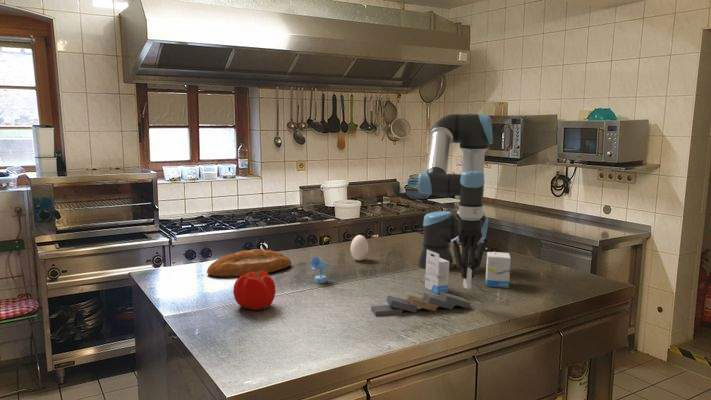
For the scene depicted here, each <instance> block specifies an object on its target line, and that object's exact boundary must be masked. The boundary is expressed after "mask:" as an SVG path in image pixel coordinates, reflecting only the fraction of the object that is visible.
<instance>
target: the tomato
mask: <svg viewBox="0 0 711 400" xmlns="http://www.w3.org/2000/svg"><path fill="white" fill-rule="evenodd" d="M232 289H233V290H232V292H233V297H234V300H235V301H236V303H237V305H239V306H240V307H242V308H243V309H246V310H249V309H250V310H252V311H258V310H264V309H266V308H267V307H270V306H271V305H272V303H273V302H274V299H275V297H276V284H275V281H274V279H273V278H272V277H271V275H270V274H269V273H267V272H266V271H259V272H257V273H255V272H250V273H247V274H246V275H243V276H238V278H237V279H236V280H235V282H234V284H233V288H232Z"/></svg>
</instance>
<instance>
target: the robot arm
mask: <svg viewBox="0 0 711 400" xmlns="http://www.w3.org/2000/svg"><path fill="white" fill-rule="evenodd" d="M428 141H429V147H428V148H429V149H428V153H427V155H428V156H427V162H426V168H425V172H420V173H419V174H418V178H417V179H418V180H417V190H418V193H419V194H421V195H427V196H428V195H429V196H451V197H452V196H453V197H455V196H456V197H459V204H458V205H459V209H458V210H457V211H456V215H453V214H452V212H451V211H445V210H444V211H443V210H442V211H432V212H428V213H426V214H425V215H424V217H423V224H422V226H423V231H422V249H421V251H420V254H419V255H418V256H419V257H418V259H417V265H418V266H419V267H420V268H423V269H425V270H426V255H427V249H428V250H430V251H433V252H435V253H438V254H439V257H440V258H442V259H444V260H447V261H449V270H451V269H453V268H454V259H453V256H452V252H451V245H452V248H453V253H454V258H455V265H456V267H458V268H459V269H461V279H463V284H462V288H465V289H466V290H472V279H474V278H475V277H474V276H475V271H476V270H477V268H480V266H481V263H482V260H483V259H482V258H483V256H484V252H485V249H486V245H487V244H488V242H489V239H488V238H486V237H487V232H488V225H489V217H488V216H486V212H485V211H484V210H483V209H484V208H483V207H484V203H483V202H484V191H485V189H484V188H485V173H484V172H485V171H484V170H485V157H486V156H485V155H486V152H487V151H488V150H489V149H490V145H492V144H493V143H494V139H493V126H492V117H491V116H490V115H488V114H482V113H451V114H447V115H445V116H443V117H441V118H439V119H438V120H437V121H435V123H434V124H433V125H432V127H431V128H430V130H429V133H428ZM452 143H454V144H459V149H460V150H461V151H462V169H461V170H462V172H461V174H460V173H459V174H458V173H448V165H449V155H450V146H451V145H452ZM460 244H461V249H460ZM431 256H433V257H435V255H433V254H431Z"/></svg>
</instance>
